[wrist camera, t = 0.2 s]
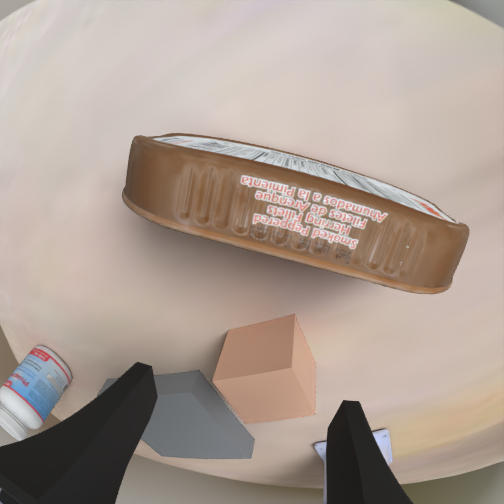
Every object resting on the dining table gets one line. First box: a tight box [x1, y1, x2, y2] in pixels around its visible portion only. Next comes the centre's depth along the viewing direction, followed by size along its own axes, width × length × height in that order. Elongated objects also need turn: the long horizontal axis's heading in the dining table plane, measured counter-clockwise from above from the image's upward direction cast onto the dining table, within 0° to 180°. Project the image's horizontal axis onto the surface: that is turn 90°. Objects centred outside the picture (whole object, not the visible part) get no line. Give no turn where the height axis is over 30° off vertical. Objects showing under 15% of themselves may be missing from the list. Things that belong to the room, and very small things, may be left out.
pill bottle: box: [0, 346, 72, 441], centre depth 24 cm, size 6×6×11 cm
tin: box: [122, 133, 469, 294], centre depth 12 cm, size 15×3×8 cm, turn 78°
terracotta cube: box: [212, 314, 316, 424], centre depth 19 cm, size 5×5×5 cm
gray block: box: [97, 370, 255, 459], centre depth 27 cm, size 12×12×3 cm
